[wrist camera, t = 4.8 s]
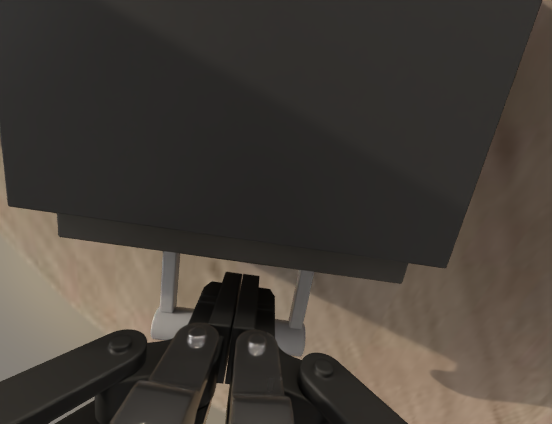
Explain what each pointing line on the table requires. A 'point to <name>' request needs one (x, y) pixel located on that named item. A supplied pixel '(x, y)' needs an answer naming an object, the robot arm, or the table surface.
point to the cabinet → (260, 115)
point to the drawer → (197, 244)
